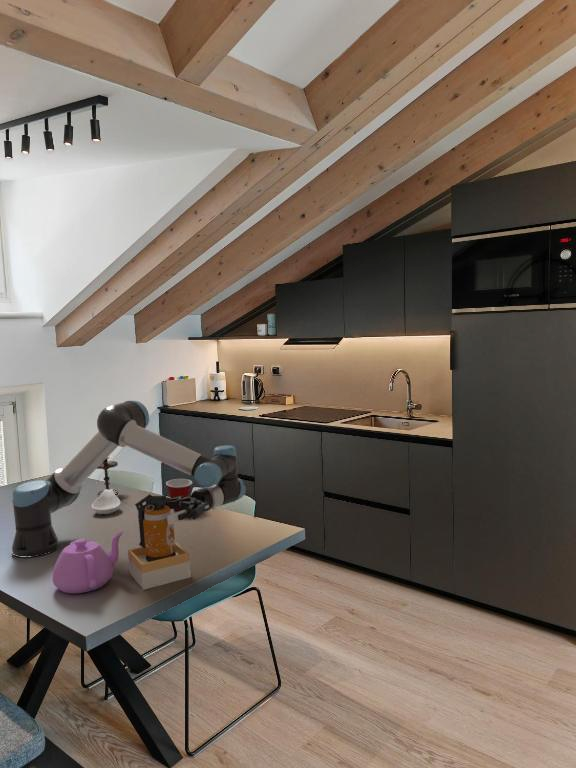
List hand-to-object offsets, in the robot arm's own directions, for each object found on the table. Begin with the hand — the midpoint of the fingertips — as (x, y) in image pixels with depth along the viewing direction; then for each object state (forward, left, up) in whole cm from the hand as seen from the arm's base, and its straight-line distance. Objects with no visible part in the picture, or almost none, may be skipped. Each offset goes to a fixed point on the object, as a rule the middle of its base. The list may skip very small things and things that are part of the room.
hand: (153, 516), depth 182 cm
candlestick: (+11, +107, -19) cm, 109 cm away
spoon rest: (+5, +84, -19) cm, 86 cm away
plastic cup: (+30, +61, -19) cm, 71 cm away
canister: (+1, +1, -14) cm, 14 cm away
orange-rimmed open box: (+1, +1, -19) cm, 19 cm away
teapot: (-18, +8, -19) cm, 27 cm away
